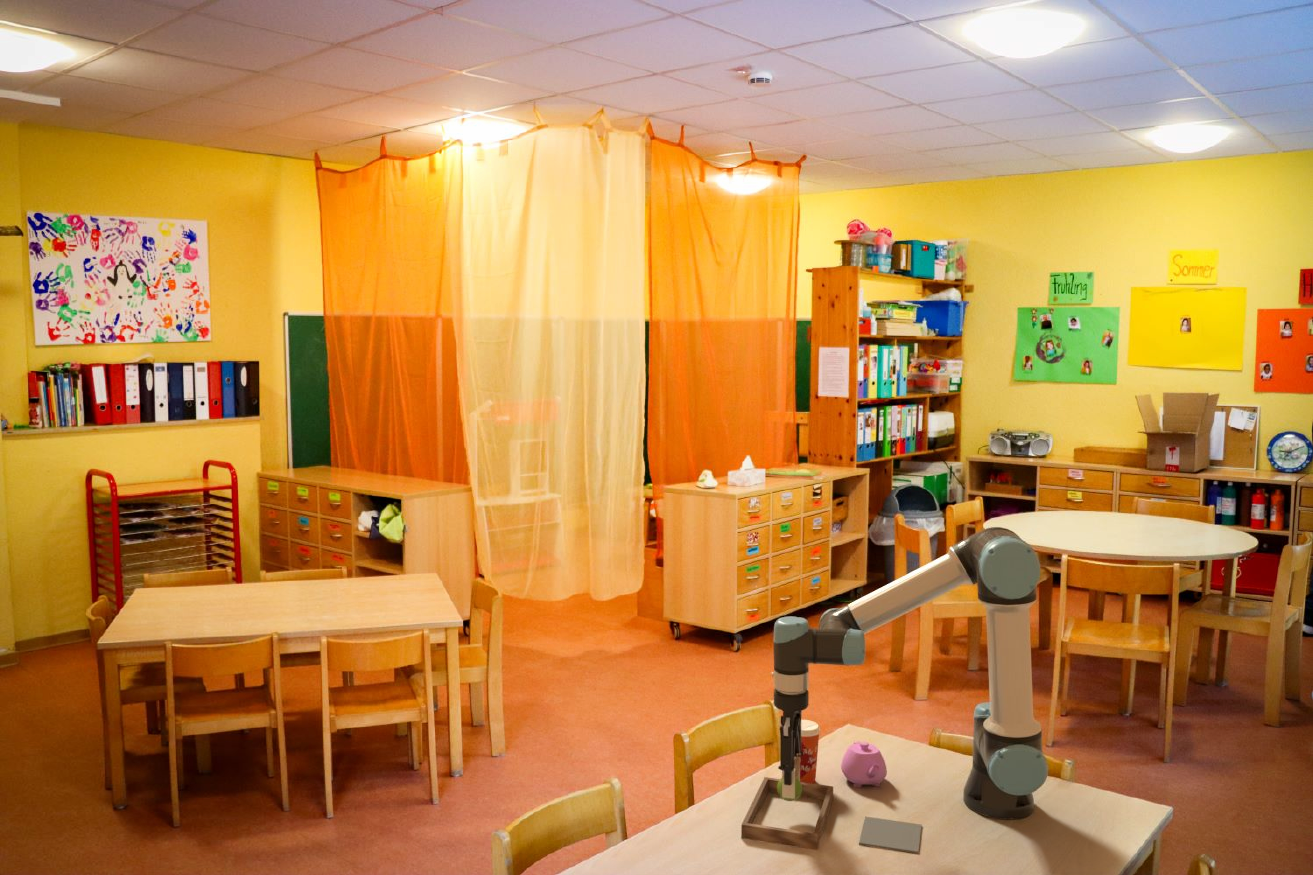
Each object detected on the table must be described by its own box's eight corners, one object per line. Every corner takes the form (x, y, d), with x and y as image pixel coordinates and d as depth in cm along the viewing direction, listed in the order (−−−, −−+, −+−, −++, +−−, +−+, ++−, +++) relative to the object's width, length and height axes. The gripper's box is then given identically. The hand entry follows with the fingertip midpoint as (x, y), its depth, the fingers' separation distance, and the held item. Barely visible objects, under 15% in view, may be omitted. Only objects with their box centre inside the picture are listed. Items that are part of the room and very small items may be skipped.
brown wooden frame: (833, 798, 229) (833, 786, 228) (817, 849, 206) (817, 836, 206) (764, 789, 234) (764, 776, 233) (741, 837, 211) (741, 824, 211)
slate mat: (921, 826, 216) (921, 824, 216) (918, 853, 205) (918, 851, 205) (865, 817, 220) (865, 816, 220) (859, 844, 208) (859, 842, 208)
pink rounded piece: (874, 767, 245) (875, 731, 245) (897, 795, 231) (898, 756, 230) (833, 770, 244) (834, 733, 243) (854, 798, 229) (855, 759, 228)
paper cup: (809, 791, 232) (810, 733, 231) (781, 782, 237) (781, 725, 236) (825, 779, 239) (826, 723, 237) (797, 771, 243) (798, 715, 242)
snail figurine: (789, 809, 215) (789, 755, 214) (772, 797, 221) (772, 745, 219) (809, 803, 217) (809, 750, 216) (792, 792, 223) (792, 740, 222)
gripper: (781, 673, 227) (782, 771, 229) (765, 701, 209) (765, 807, 212) (814, 676, 224) (814, 775, 227) (801, 705, 207) (801, 812, 209)
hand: (791, 790), depth 219 cm, fingers closed on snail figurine, 5 cm apart
